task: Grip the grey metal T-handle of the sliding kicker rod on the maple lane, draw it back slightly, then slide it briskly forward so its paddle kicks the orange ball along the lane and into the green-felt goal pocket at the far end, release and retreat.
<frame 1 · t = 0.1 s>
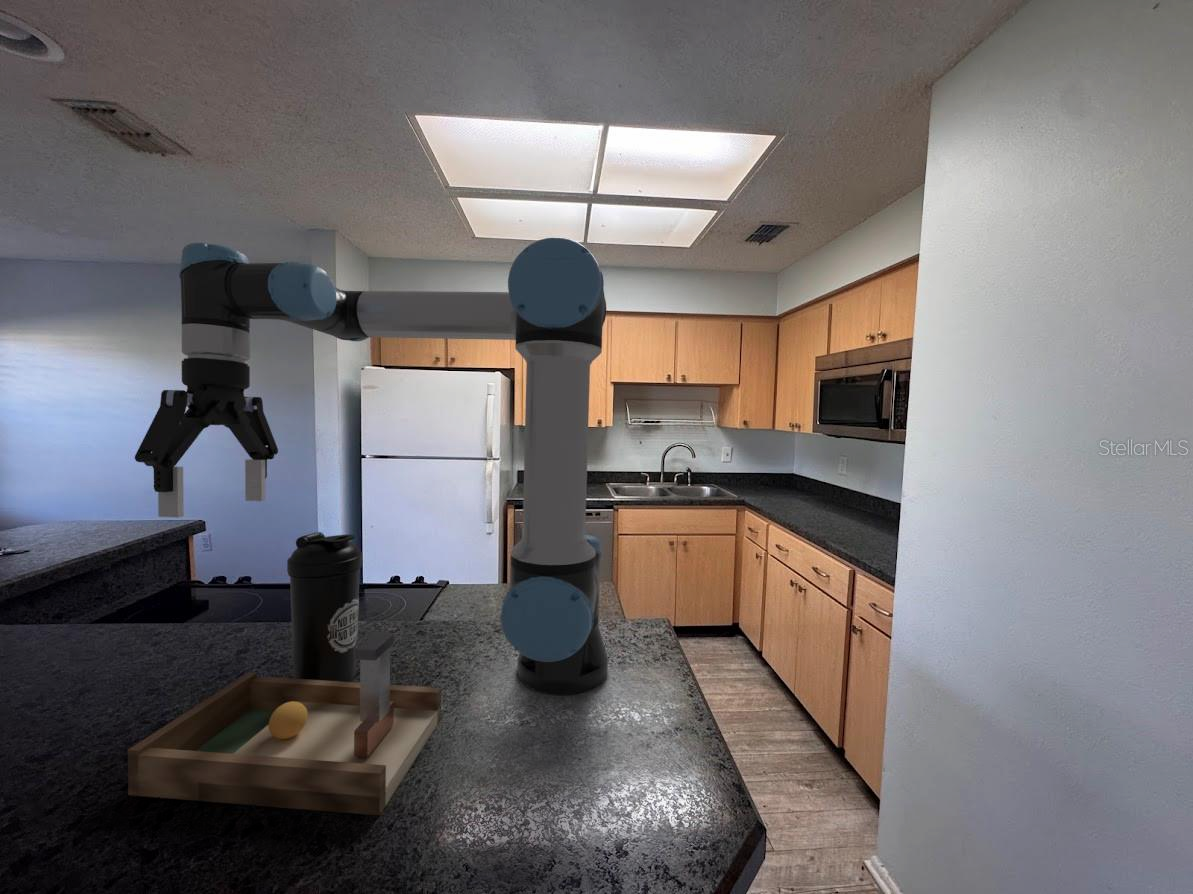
hand: (217, 508, 67), 28 cm above the counter, fingers open, 13 cm apart
water bottle: (325, 680, 74), on the counter
lane: (303, 752, 57), on the counter
ball: (288, 719, 57), point 4 cm above the counter, touching lane
kicker: (375, 690, 56), point 8 cm above the counter, slide at 0.0 cm
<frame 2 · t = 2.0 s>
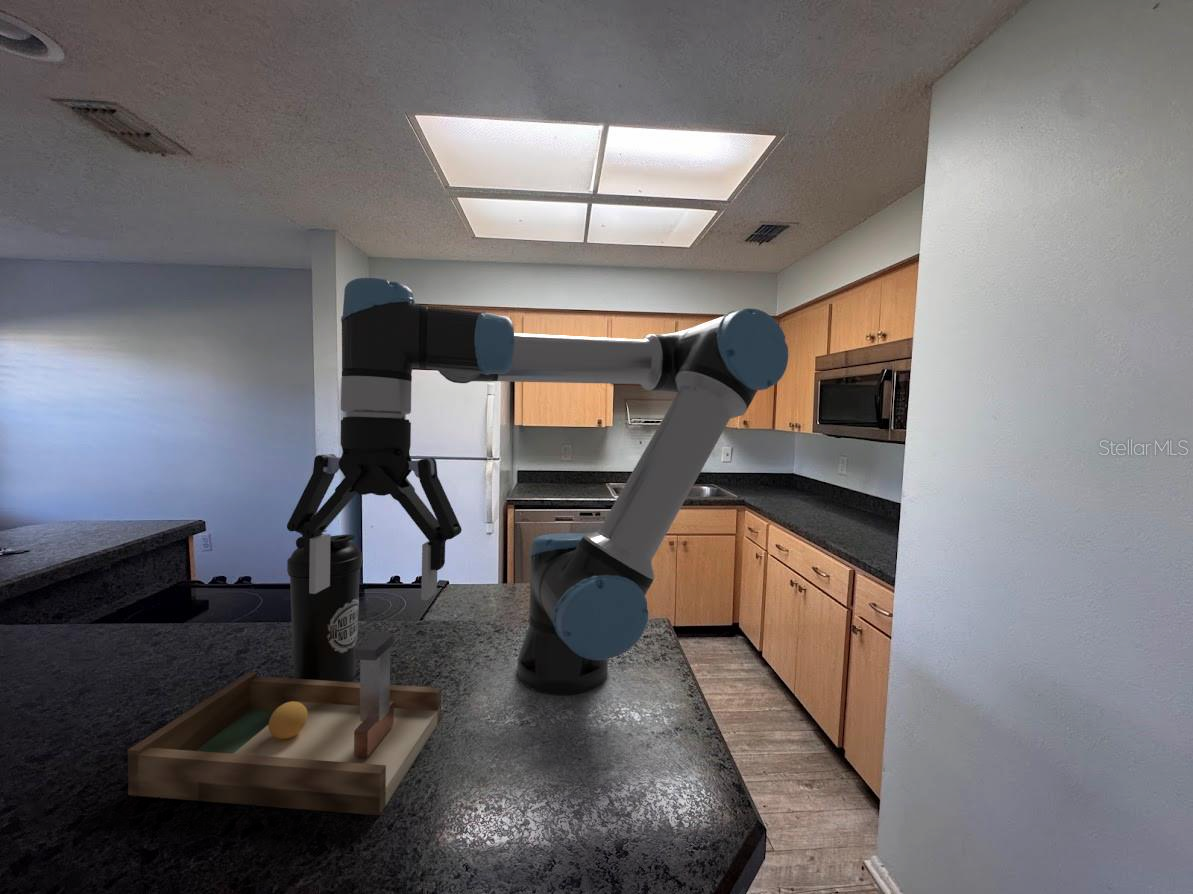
hand: (374, 593, 56), 20 cm above the counter, fingers open, 13 cm apart
nothing on the counter moved.
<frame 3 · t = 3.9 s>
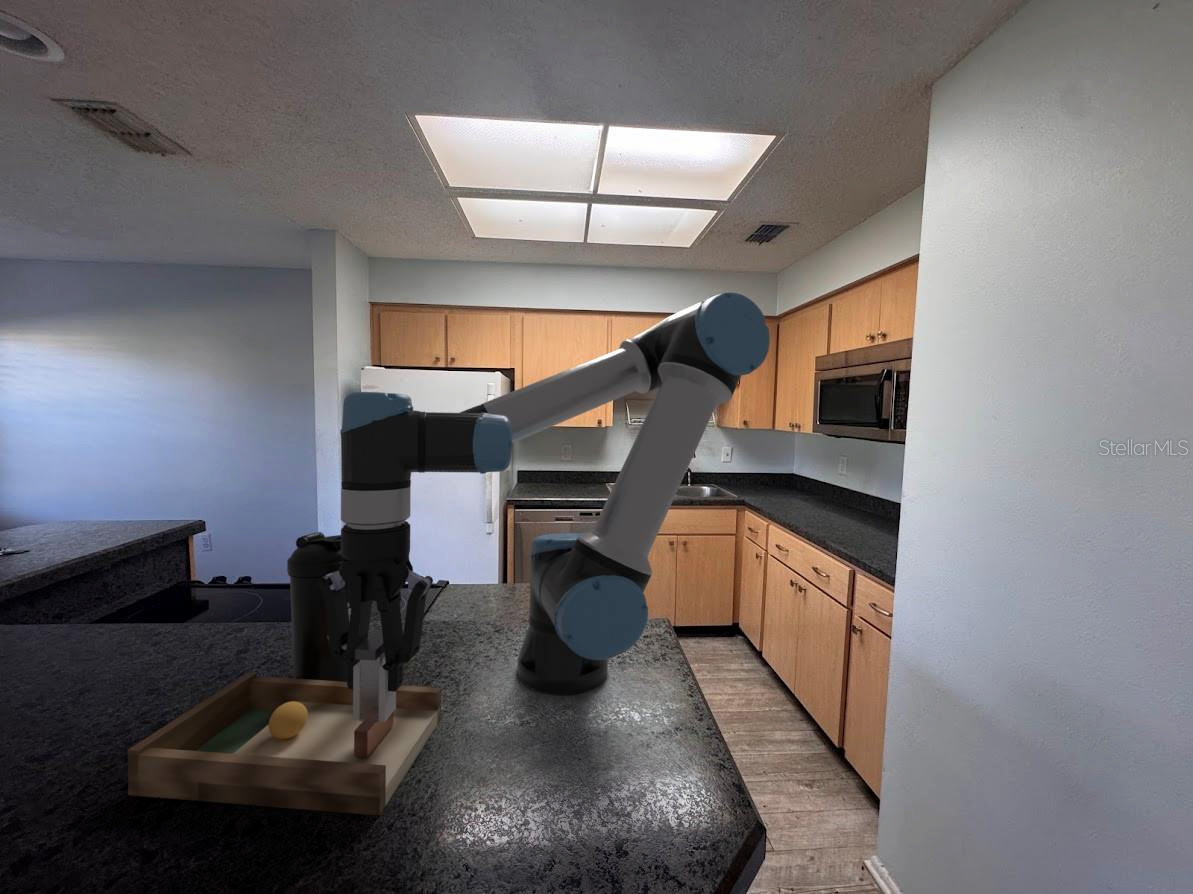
hand: (375, 713, 56), 6 cm above the counter, fingers closed on kicker, 2 cm apart
kicker: (375, 690, 56), point 8 cm above the counter, slide at 0.0 cm, touching gripper
everything else where it was.
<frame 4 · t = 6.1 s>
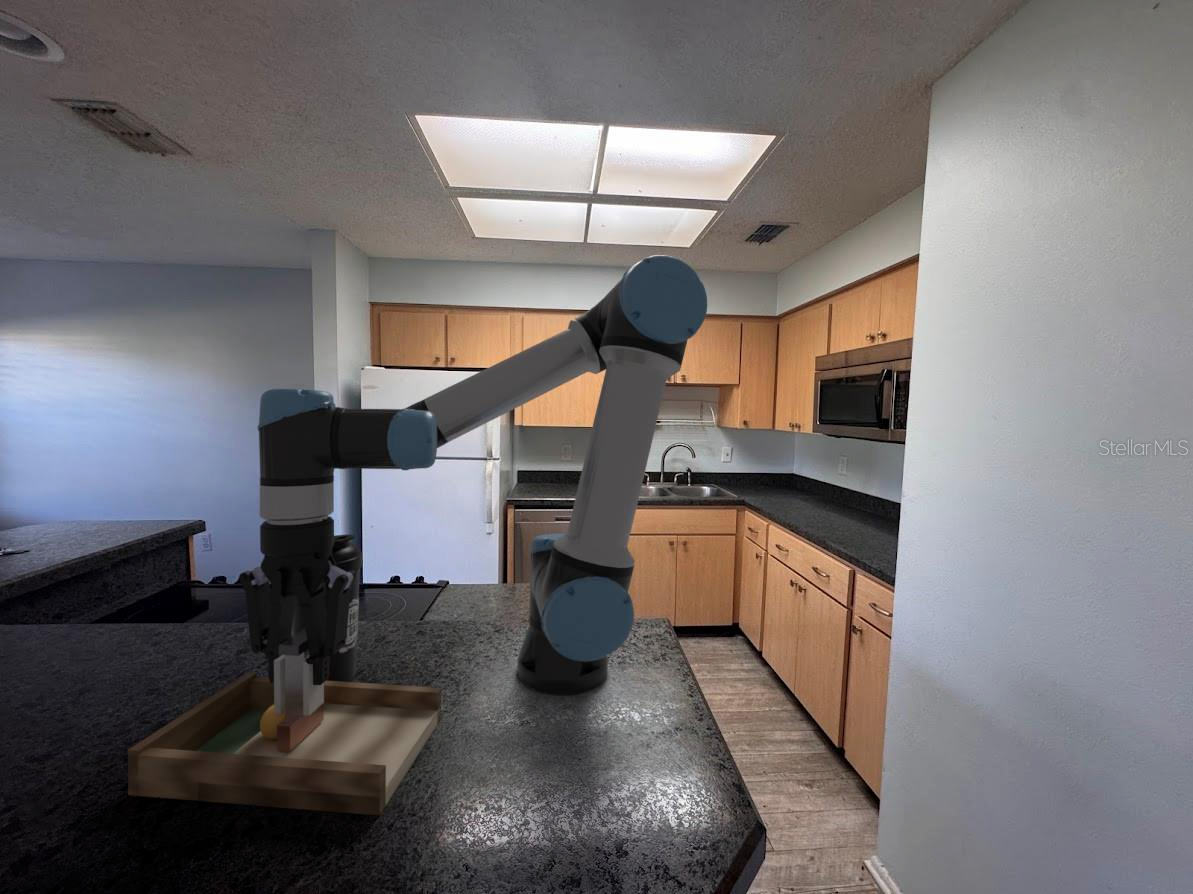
hand: (299, 707, 57), 6 cm above the counter, fingers open, 3 cm apart
ball: (279, 719, 57), point 4 cm above the counter, tilted 32°, touching gripper, kicker, lane
kicker: (301, 685, 57), point 8 cm above the counter, slide at 9.3 cm, touching ball, gripper
everything else where it was.
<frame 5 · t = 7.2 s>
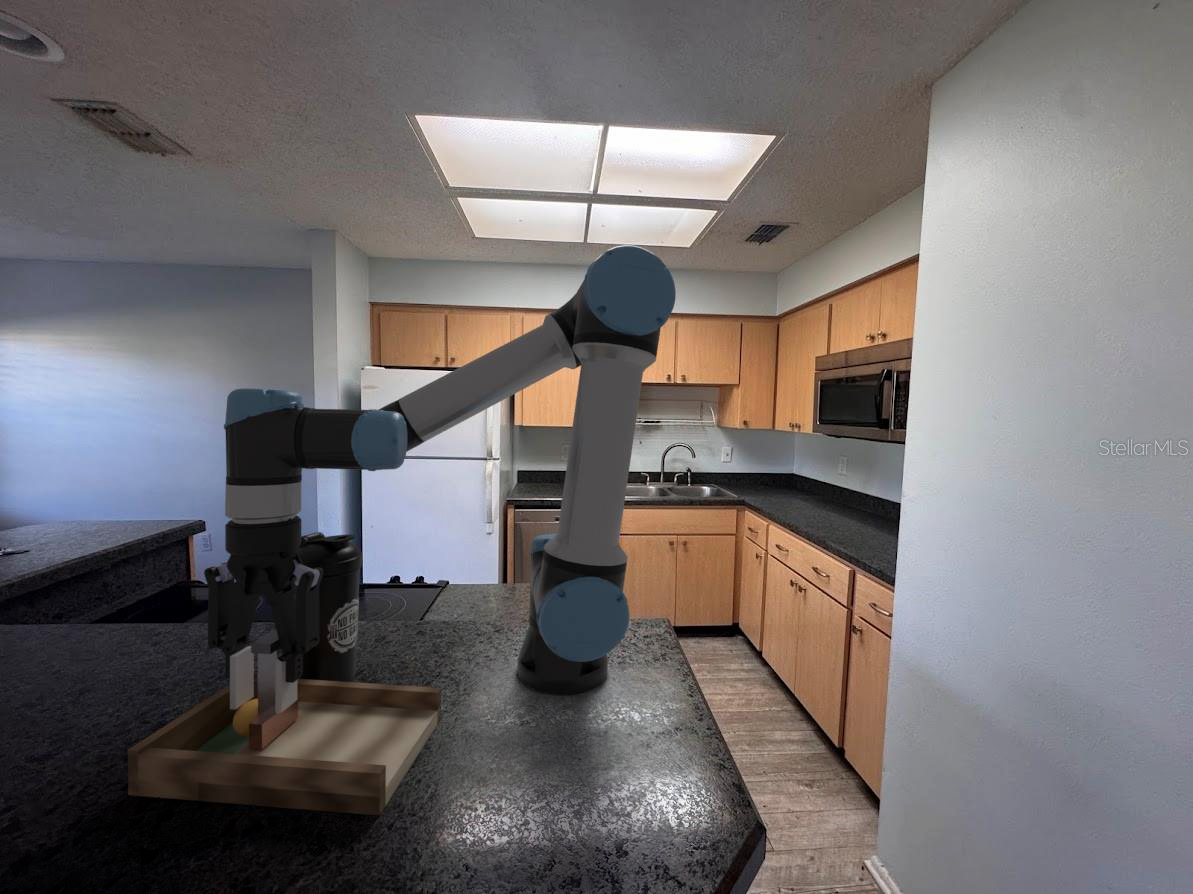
hand: (264, 703, 57), 6 cm above the counter, fingers open, 5 cm apart
ball: (253, 717, 57), point 4 cm above the counter, tilted 102°, touching gripper, kicker
kicker: (274, 684, 57), point 8 cm above the counter, slide at 12.8 cm, touching ball, gripper
everything else where it was.
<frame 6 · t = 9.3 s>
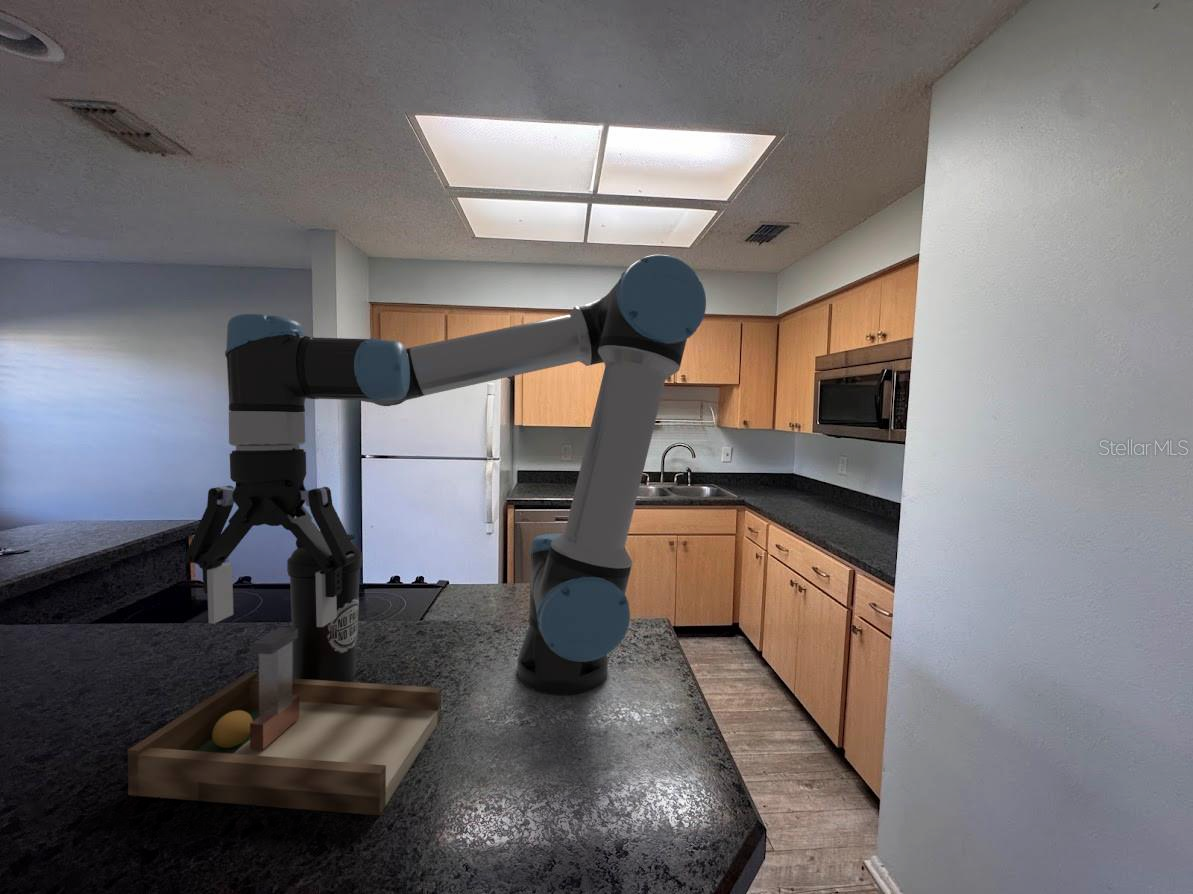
hand: (273, 620, 57), 16 cm above the counter, fingers open, 13 cm apart
ball: (232, 728, 58), point 2 cm above the counter, tilted 155°, touching lane
kicker: (275, 684, 57), point 8 cm above the counter, slide at 12.6 cm
everything else where it was.
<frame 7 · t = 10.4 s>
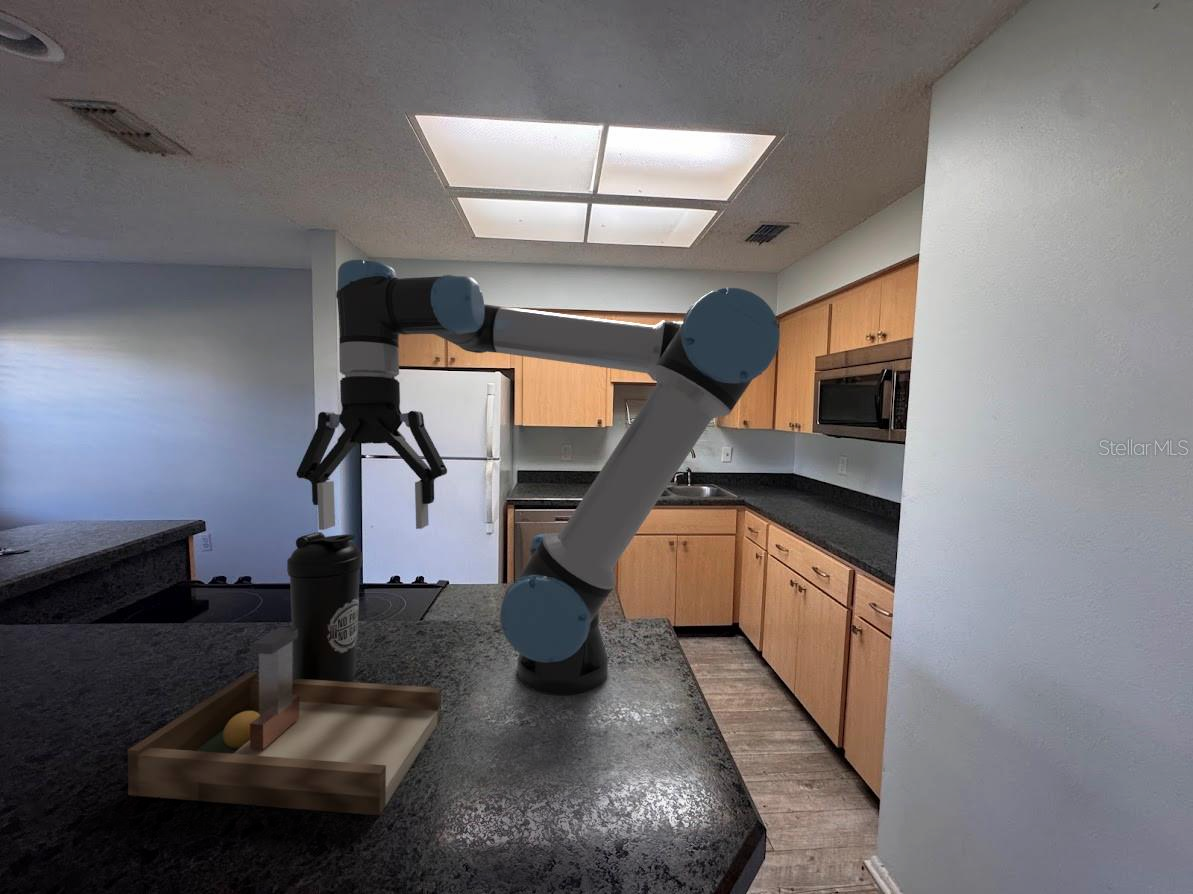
hand: (374, 527, 66), 26 cm above the counter, fingers open, 13 cm apart
ball: (243, 729, 58), point 2 cm above the counter, tilted 166°, touching lane
everything else where it was.
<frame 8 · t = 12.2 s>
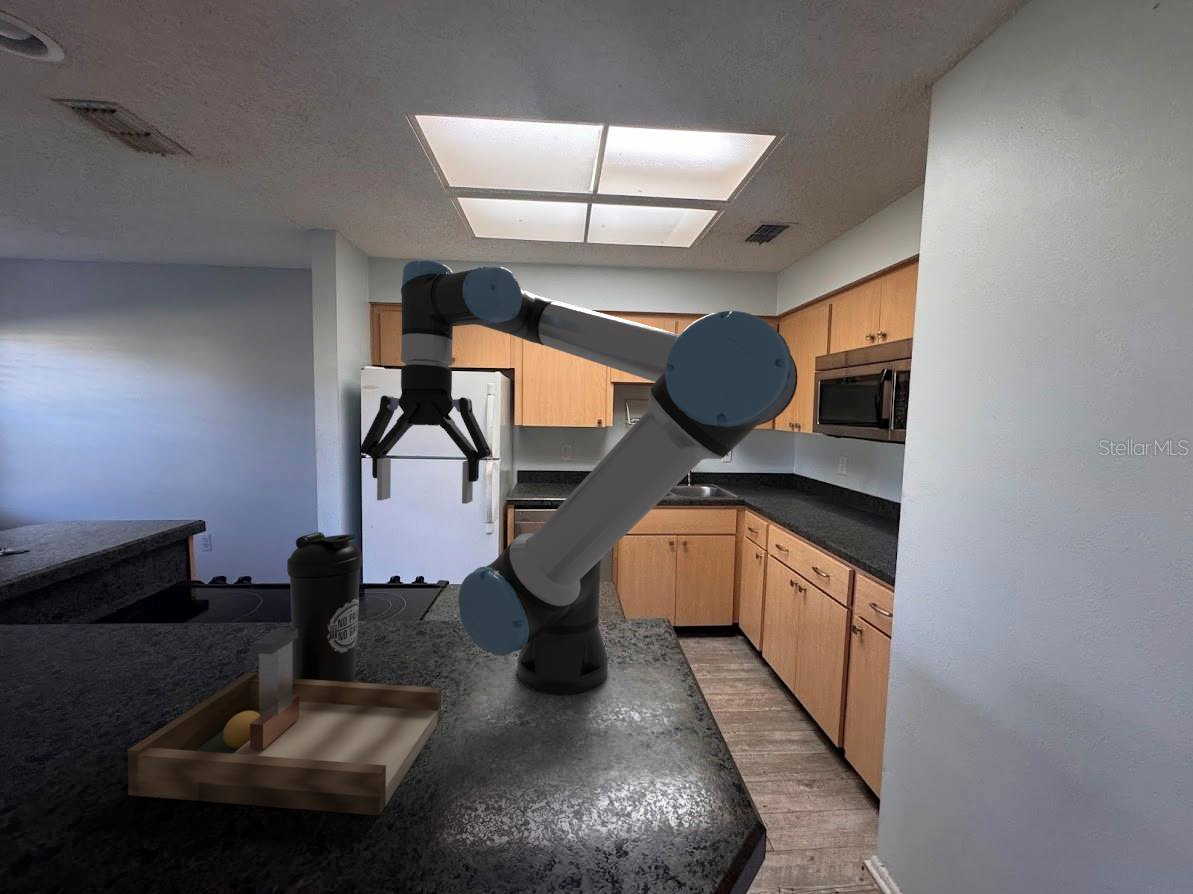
hand: (425, 500, 73), 29 cm above the counter, fingers open, 13 cm apart
nothing on the counter moved.
at the end: ball inside the target area on the lane (1.5 cm from its centre), point 2.3 cm above the lane's base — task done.
